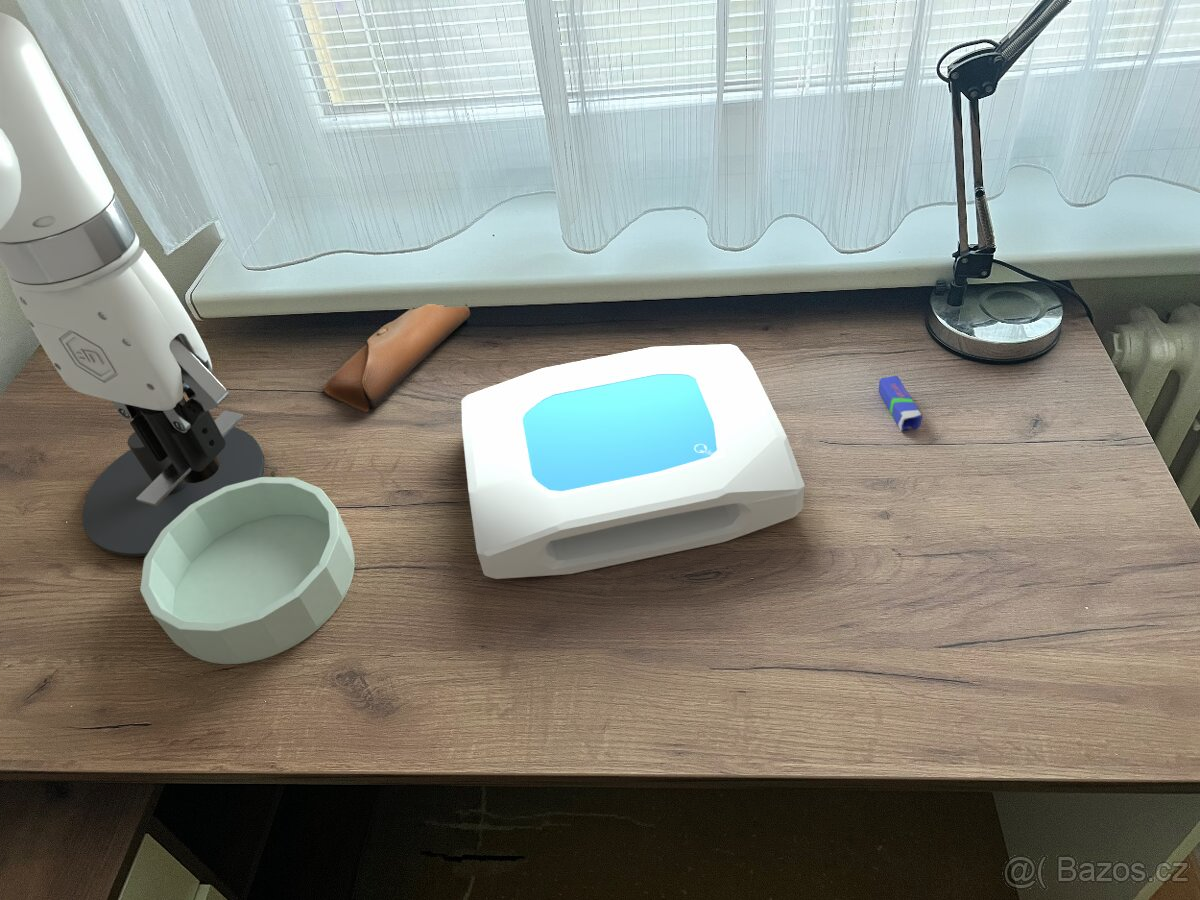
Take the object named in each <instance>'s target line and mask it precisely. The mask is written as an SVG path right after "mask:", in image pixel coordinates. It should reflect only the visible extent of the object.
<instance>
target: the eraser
mask: <svg viewBox="0 0 1200 900" xmlns="http://www.w3.org/2000/svg"><path fill="white" fill-rule="evenodd" d="M878 394H879V395H880V397H881V399H882V401H883V403H884V404H885V406H886V407H887V409H888V411H889V412H890V414H891V416H892V418H893V420H894V421H895V423H896V425H897V427H898V428H899V430H900V431H901V432H903V431H911V430H916V429H917V430H918V429H919V428H920V426H921V423H922V420H923V415H922V414H921V411H920V410H919V409H918V407H917V405H916V404H915V402H914V400H913V399H912V397H911V395H910V394H909V392H908V390H907V389H906V387H905V386H904V384H903V382H902V380H901V379H900V377H899V376H898V375H893V376H892V375H891V376H886V377H882V378H880V379H879V382H878Z"/></svg>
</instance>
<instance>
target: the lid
mask: <svg viewBox="0 0 1200 900" xmlns="http://www.w3.org/2000/svg"><path fill="white" fill-rule="evenodd" d="M223 438H224V440H225V442H226V445H225V447H224V449H223V450H222V451H221V452H220V453H219V454H218V455H217V457H218V459H219V461H220V467H219V469H218V471H217V472H216V473H215V474H214V475H213V476H212V477H210V478H209V479H207V480H205V481H202V482H199V483H187V482H184V481H183V480H182V481H181V482H180V483H179V484H178V485H177V486H176V487H175V488H174V489H173V490H172V491H171V492H170V493H169V494H168V495H167V496H166V497H165V498H164V499H163V500H162V501H161V502H160V503H159V504H158V505H157V506H154V505H150V504H146V503H143V502H139V501H137V499H136V498H137V497H138V496H139V495H140V494H141V493H142V492H143V491H144V490H145V489H146V488H147V487H148V486H149V485H150V484H151V483H152V482H153V481H154V480H155V479H156V478H157V477H158V476H159V475H160V474H161V473H162V472H163V471H164V470H165V469H166V468H167V467H168V466H169V465H170V464H171V461H170V460H169V458H168V456H167V457H166V458H165V459H164V460H163V461H156V460H153V459H152V458H151V456H150V454H149V453H148V451H147V450H146V448H145V446H144V445H143V443H142V442H141V440H140V439H139V437H138V435H137V434H136V432H135V431H134V432H132V433H131V434H130V436H129V437H128V439H127V443H126V444H127V446H128V447H129V449H128V450H127V451H125V452H124V453H123V454H121V455H120V456H119V457H118V458H116V459H115V460H114V461H113V462H112V463H111V464H109V466H107V467H106V468H105V470H103V471H102V472H101V473H100V475H99V476H98V477H97V479H96V480H95V481H94V483H93V484H92V485H91V487H90V489H89V490H88V492H87V495H86V496H85V499H84V502H83V506H82V510H81V522H82V527H83V530H84V532H85V533H86V535H87V537H88V538H89V539H90V540H91V541H92V543H93V544H95V546H96V547H98V548H100V549H101V550H103V551H105V552H107V553H110V554H113V555H117V556H121V557H130V558H131V557H133V558H136V557H137V558H139V557H141V558H143V557H144V558H145V557H146V556H147V554H148V552H149V551H150V549H151V547H152V546H153V544H154V543H155V541H156V539H157V538H158V536H159V534H160V533H161V531H162V530H163V529H164V528H165V527H166V526H167V525H169V524H170V523H171V522H172V521H173V520H174V519H175V518H176V517H177V516H179V515H180V514H181V513H182V512H183V511H184V510H185V509H186V508H187V507H189V506H190V505H191V504H193V503H195V502H197V501H199V500H201V499H203V498H204V497H206V496H208V495H210V494H212V493H214V492H216V491H218V490H219V489H221V488H223V487H226V486H229V485H233V484H237V483H240V482H244V481H248V480H252V479H256V478H260V477H264V472H265V455H264V453H263V450H262V448H261V446H260V444H259V442H258V441H257V440H256V439H255V438H254V437H253V436H252V435H251V434H250V433H248V432H247V431H246V430H244V429H241V428H239V427H236V426H234V427H233V428H232V429H231V430H230V431H229V432H228V433H227V434H226V435H225V436H224V437H223Z"/></svg>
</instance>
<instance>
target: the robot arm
mask: <svg viewBox="0 0 1200 900" xmlns="http://www.w3.org/2000/svg"><path fill="white" fill-rule="evenodd" d="M0 264H1V265H2V267H3V269H4V271H5V273H6V276H7V279H8V282H9V285H10V287H11V289H12V290H11V291H12V292H13V295H14V296H15V299H16V300H17V303H18V305H19V307H20V309H21V311H22V314H23V315H24V317H25V319H26V320H27V322H28V325H29V326H30V328H31V330H32V331H33V333H34V336H35V337H36V338H37V340H38V342H39V344H40V345H41V347H42V349H43V350H44V352H45V354H46V355H47V357H48V358H49V360H50V362H51V363H52V365H53V366H54V368H55V370H56V371H57V373H58V374H59V376H60V378H61V379H62V380H63V382H64V383H65V384H66V385H67V387H69V388H70V389H72V390H74V391H76V392H78V393H80V394H84V395H87V396H90V397H95V398H97V399H102V400H107V401H111V402H112V404H113V406H114V408H115V409H116V412H117V413H118V414H119V415H120V416H121V418H124V419H125V420H127V421H130V420H131V421H130V422H129V424H130V426H131V428H132V430H133V431H134V432H136V434H137V435H138V437H139V439H140V440H141V442H142V443H143V445H144V446H145V448H146V450H147V451H148V453H149V454H150V456H151V458H152V459H153V460H156V461H163V460H164V459H165V458H166V457H167V455H166V453H165V451H164V450H163V448H162V447H161V445H160V443H159V442H158V440H157V438H156V437H155V435H154V433H153V432H152V430H151V429H150V427H149V425H148V424H147V422H146V420H145V419H144V417H143V415H142V414H141V412H140V410H139V407H141V408H146V409H152V410H159V411H163V412H164V413H165V415H166V416H167V418H168V419H169V421H170V422H171V424H172V425H173V426H174V429H173V430H172V432H171V435H172V436H173V438H174V440H175V441H176V443H177V445H178V446H179V448H180V450H181V451H182V453H183V455H184V457H185V458H186V460H187V462H188V463H189V465H190V467H191V468H192V470H195V471H199V472H200V471H202V470H203V469H204V468H205V467H206V466H207V465H208V464H209V463H210V462H211V461H212V460H213V459H214V458H215V457H216V456H217V455H218V454H219V453H220V452H221V451H222V450H223V449H224V447H225V445H226V442H225V440H224V438H223V436H222V434H221V433H220V431H219V429H218V427H217V425H216V423H215V421H214V420H215V419H214V418H213V416H212V414H211V412H210V411H211V410H213V409H215V408H217V407H219V405H220V404H222V403H223V401H224V400H225V399H227V397H228V396H229V391H228V390H227V389H226V387H225V386H224V385H223V384H222V383H221V382H220V381H219V380H218V379H217V378H216V377H215V376H214V375H213V374H212V372H213V364H212V361H211V357H210V354H209V352H208V350H207V348H206V345H205V343H204V342H203V339H202V337H201V335H200V334H199V332H198V330H197V328H196V326H195V324H194V323H193V320H192V319H191V317H190V316H189V314H188V312H187V310H186V309H185V307H184V306H183V304H182V302H181V300H180V299H179V297H178V296H177V294H176V292H175V291H174V289H173V288H172V286H171V285H170V283H169V281H168V280H167V279H166V277H165V276H164V275H163V273H162V271H161V270H160V268H159V267H158V266H157V264H156V263H155V262H154V260H153V259H152V258H151V256H150V255H149V254H148V252H147V251H146V250H145V247H142V246H140V238H139V236H138V234H137V233H136V230H135V228H134V226H133V224H132V223H131V220H130V218H129V216H128V215H127V213H126V210H125V209H124V206H123V205H122V203H121V201H120V199H119V197H118V195H117V193H116V191H115V189H114V188H113V186H112V184H111V182H110V180H109V179H108V176H107V174H106V172H105V171H104V168H103V166H102V165H101V163H100V161H99V158H98V157H97V155H96V153H95V151H94V149H93V147H92V145H91V143H90V141H89V140H88V137H87V136H86V133H85V132H84V130H83V129H82V126H81V124H80V122H79V120H78V119H77V116H76V115H75V113H74V111H73V109H72V107H71V105H70V103H69V101H68V99H67V97H66V95H65V93H64V92H63V89H62V88H61V86H60V84H59V82H58V80H57V78H56V75H55V74H54V72H53V70H52V68H51V66H50V64H49V62H48V60H47V59H46V57H45V55H44V52H43V50H42V49H41V47H40V45H39V44H38V41H37V40H36V38H35V37H34V35H33V34H32V33H31V32H30V30H29V29H28V28H27V26H25V25H24V24H23V23H22V22H21V21H20V20H18V19H16V18H15V17H14V16H11V15H9V14H6V13H3V12H1V11H0ZM184 393H185V395H186V396H187V398H188V399H187V400H186V403H185V404H184V405H183V407H182V409H181V408H180V407H179V405H178V404H177V403H178V402H179V401H180V400H182V399H183V396H184Z"/></svg>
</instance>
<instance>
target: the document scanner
mask: <svg viewBox="0 0 1200 900" xmlns="http://www.w3.org/2000/svg"><path fill="white" fill-rule="evenodd" d="M460 403H461V430H462V440H463V451H464V460H465V470H466V471H465V472H466V479H467V480H466V481H467V489H468V498H469V505H470V506H469V507H470V512H471V521H472V527H473V534H474V540H475V549H476V554H477V557H478V560H479V564H480V566H481V570H482V573H483V575H484V576H485V577H488V578H490V579H491V578H492V579H495V580H500V579H516V578H517V579H518V578H529V577H532V578H533V577H545V576H560V575H572V574H577V573H581V572H587V571H592V570H596V569H601V568H607V567H612V566H616V565H620V564H621V565H622V564H626V563H630V562H634V561H639V560H645V559H649V558H654V557H658V556H659V557H660V556H664V555H669V554H673V553H679V552H683V551H688V550H693V549H698V548H702V547H706V546H712V545H717V544H721V543H725V542H726V543H727V542H729V541H731V540H734V539H737V538H739V537H742V536H745V535H748V534H751V533H753V532H757V531H759V530H762V529H765V528H768V527H771V526H773V525H776V524H779V523H782V522H784V521H787V520H790V519H793V518H795V517H796V516H797V515H798V514H799V513H800V512H801V511H802V510H803V509H804V501H805V500H804V499H805V491H806V490H805V488H806V485H805V482H804V480H803V477H802V474H801V471H800V468H799V466H798V463H797V460H796V458H795V455H794V452H793V449H792V446H791V443H790V440H789V438H788V435H787V433H786V432H785V429H784V428H783V425H782V424H781V421H780V419H779V417H778V415H777V413H776V410H775V409H774V407H773V405H772V403H771V401H770V399H769V397H768V395H767V393H766V391H765V388H764V386H763V385H762V383H761V381H760V379H759V376H758V374H757V373H756V371H755V368H754V367H753V365H752V363H751V362H750V361H749V359H748V358H747V357H746V355H744V353H743V352H742V351H741V350H740V348H739V347H738V346H737V345H734V344H731V343H729V344H728V343H726V344H724V343H723V344H698V345H673V346H670V345H669V346H650V347H646V348H642V349H641V348H640V349H635V350H631V351H624V352H620V353H614V354H609V355H605V356H604V355H603V356H600V357H599V356H598V357H595V358H588V359H584V360H579V361H572V362H568V363H564V364H559V365H553V366H547V367H543V368H540V369H536V370H534V371H531V372H528V373H525V374H523V375H519V376H517V377H514V378H512V379H508V380H505V381H502V382H500V383H498V384H494V385H491V386H489V387H486V388H482V389H480V390H477V391H475V392H472V393H469V394H467V395H465V396H464V397H463V398H462V399H461V402H460Z"/></svg>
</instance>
